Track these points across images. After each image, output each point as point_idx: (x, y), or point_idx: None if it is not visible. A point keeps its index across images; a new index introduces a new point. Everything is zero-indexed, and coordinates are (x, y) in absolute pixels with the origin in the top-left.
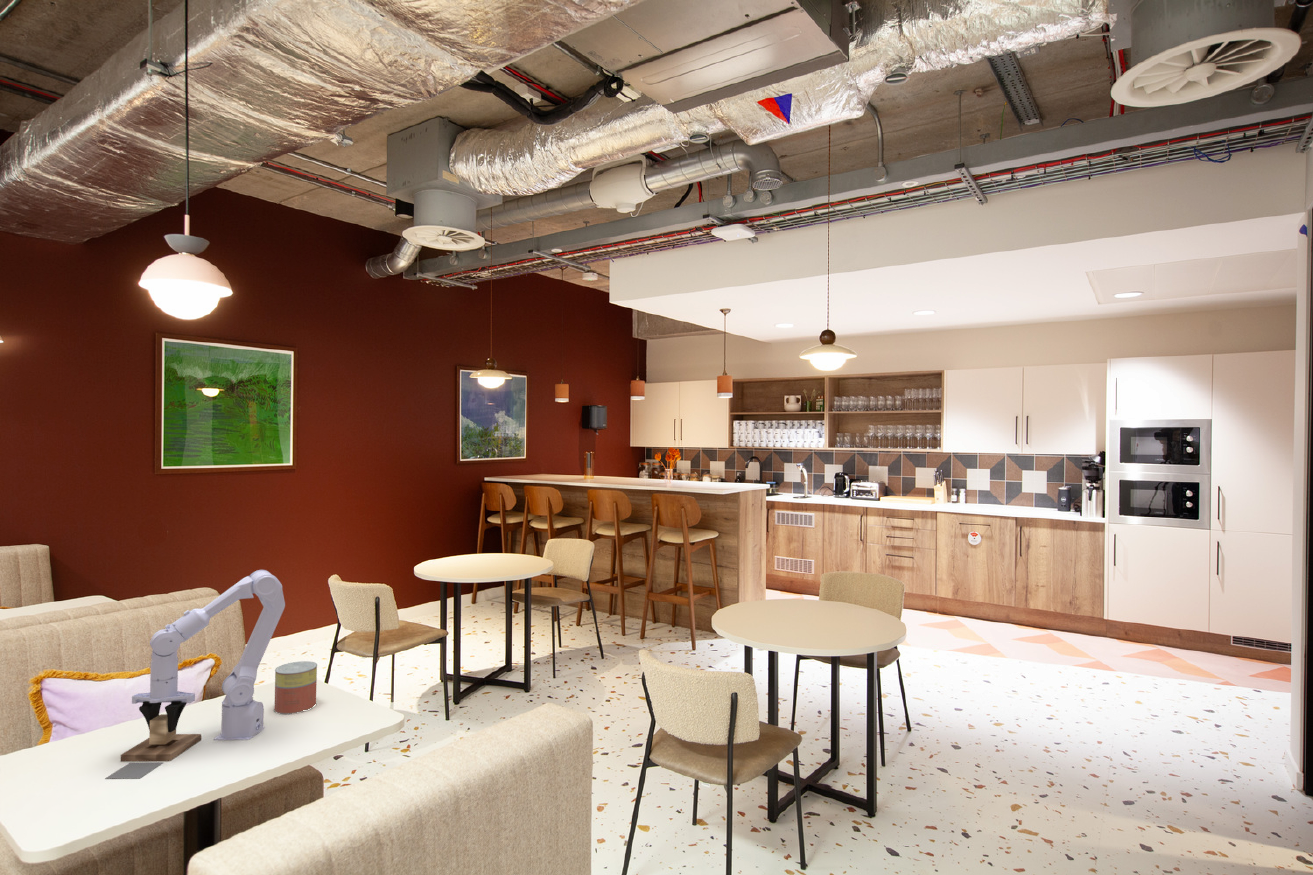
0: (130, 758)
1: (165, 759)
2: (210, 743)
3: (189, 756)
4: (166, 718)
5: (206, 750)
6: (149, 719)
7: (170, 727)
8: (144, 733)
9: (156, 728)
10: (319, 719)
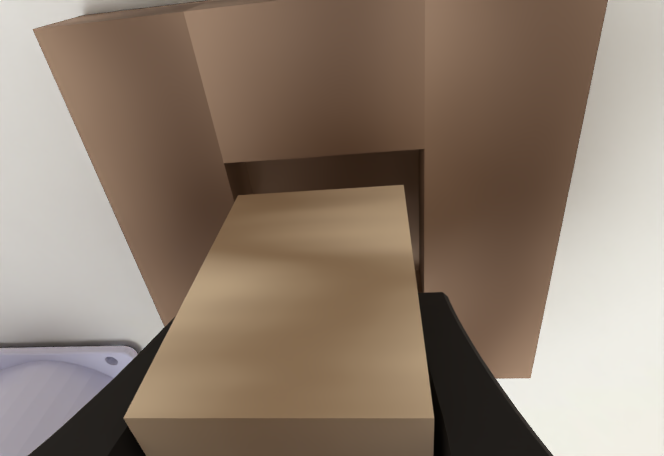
0: None
1: (110, 13)
2: (122, 319)
3: (51, 141)
4: None
5: (39, 235)
6: (459, 443)
7: (157, 336)
8: (656, 419)
9: (311, 303)
10: None
